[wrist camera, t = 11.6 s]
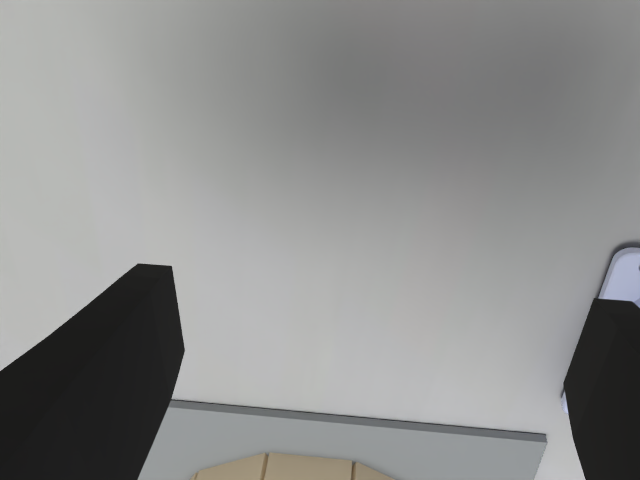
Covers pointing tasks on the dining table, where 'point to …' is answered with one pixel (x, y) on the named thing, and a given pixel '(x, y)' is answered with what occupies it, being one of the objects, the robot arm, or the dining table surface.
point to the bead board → (329, 448)
